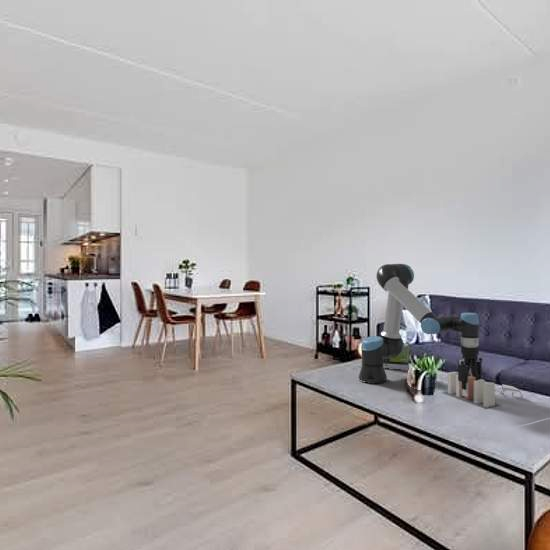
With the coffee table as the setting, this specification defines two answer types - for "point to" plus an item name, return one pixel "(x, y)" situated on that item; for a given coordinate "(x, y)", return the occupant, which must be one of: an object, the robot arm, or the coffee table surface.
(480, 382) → the domino
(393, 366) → the tea box
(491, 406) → the mat
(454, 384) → the domino
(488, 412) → the coffee table surface
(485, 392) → the domino
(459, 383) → the domino
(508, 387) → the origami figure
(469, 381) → the domino
